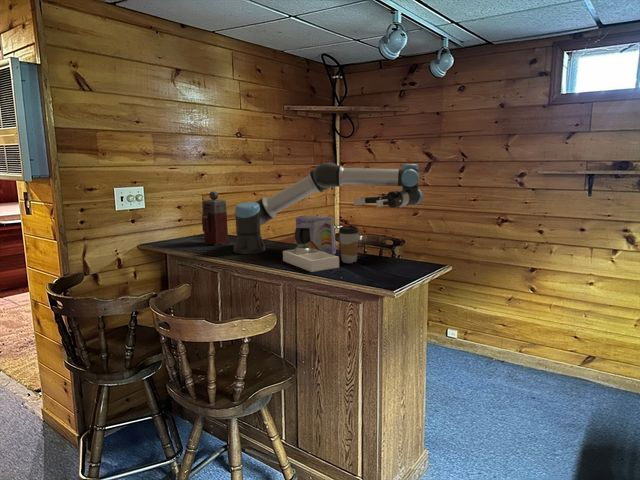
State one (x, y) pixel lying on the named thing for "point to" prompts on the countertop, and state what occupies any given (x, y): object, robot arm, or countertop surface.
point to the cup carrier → (312, 260)
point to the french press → (214, 220)
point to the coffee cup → (349, 243)
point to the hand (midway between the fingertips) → (365, 202)
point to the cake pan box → (316, 233)
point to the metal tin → (302, 250)
